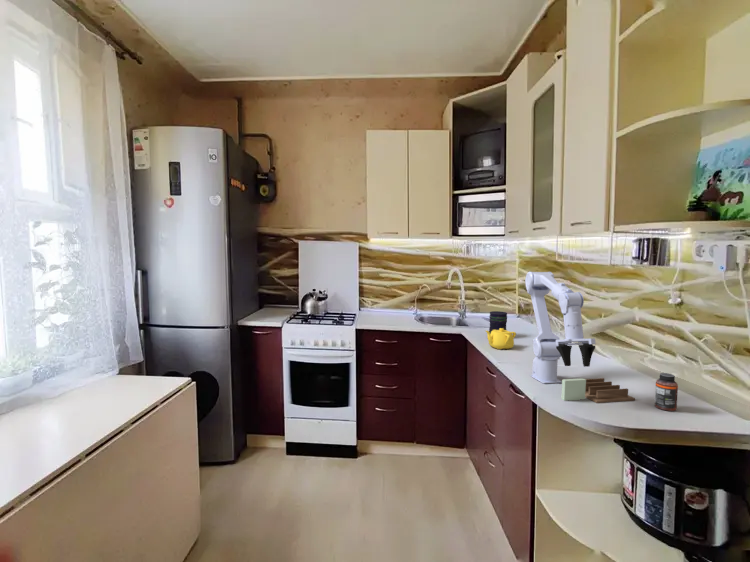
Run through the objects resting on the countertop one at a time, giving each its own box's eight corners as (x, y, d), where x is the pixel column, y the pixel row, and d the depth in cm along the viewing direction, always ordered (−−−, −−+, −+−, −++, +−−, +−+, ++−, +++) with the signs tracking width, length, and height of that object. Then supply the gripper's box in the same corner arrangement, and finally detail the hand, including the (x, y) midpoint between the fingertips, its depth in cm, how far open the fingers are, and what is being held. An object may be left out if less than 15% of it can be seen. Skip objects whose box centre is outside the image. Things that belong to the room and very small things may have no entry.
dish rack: (567, 388, 152) (568, 378, 152) (603, 385, 155) (603, 376, 155) (596, 403, 138) (597, 392, 137) (634, 400, 140) (635, 390, 140)
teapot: (508, 352, 204) (509, 332, 203) (483, 348, 211) (484, 329, 210) (516, 347, 215) (517, 328, 214) (492, 343, 222) (493, 325, 222)
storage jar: (507, 340, 231) (508, 314, 230) (490, 339, 232) (491, 313, 231) (504, 336, 241) (505, 311, 240) (487, 335, 242) (488, 311, 241)
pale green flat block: (561, 399, 141) (562, 379, 140) (581, 397, 142) (582, 378, 142) (564, 400, 139) (565, 381, 139) (584, 399, 141) (586, 379, 140)
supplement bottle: (667, 404, 137) (669, 371, 136) (681, 411, 131) (683, 377, 130) (649, 404, 137) (652, 371, 136) (663, 411, 131) (665, 377, 130)
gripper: (548, 327, 147) (551, 365, 144) (583, 324, 134) (587, 366, 131) (562, 328, 150) (565, 365, 147) (598, 325, 137) (602, 366, 134)
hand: (576, 366), depth 140 cm, fingers open, 7 cm apart
